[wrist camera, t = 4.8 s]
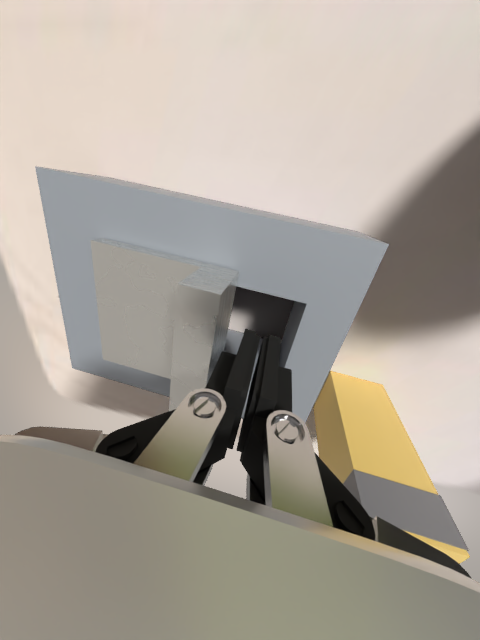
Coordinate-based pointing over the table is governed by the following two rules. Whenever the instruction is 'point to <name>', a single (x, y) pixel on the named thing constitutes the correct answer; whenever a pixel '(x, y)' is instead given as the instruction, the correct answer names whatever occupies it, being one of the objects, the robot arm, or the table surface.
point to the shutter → (162, 313)
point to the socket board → (213, 248)
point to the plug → (381, 462)
